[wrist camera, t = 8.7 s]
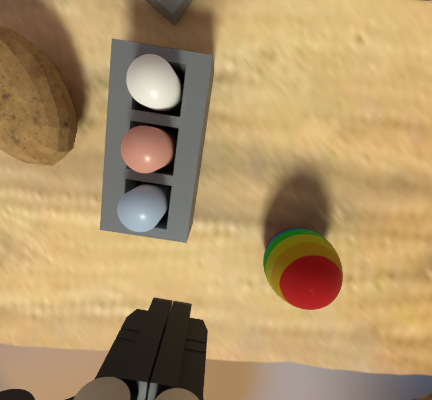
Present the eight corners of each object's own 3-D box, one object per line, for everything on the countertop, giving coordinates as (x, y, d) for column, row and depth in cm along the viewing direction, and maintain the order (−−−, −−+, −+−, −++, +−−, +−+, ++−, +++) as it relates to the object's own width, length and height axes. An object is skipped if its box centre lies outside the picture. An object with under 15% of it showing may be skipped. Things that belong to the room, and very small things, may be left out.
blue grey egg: (138, 177, 30) (118, 186, 24) (174, 183, 30) (162, 193, 24) (135, 211, 31) (115, 228, 25) (170, 217, 31) (158, 235, 25)
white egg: (148, 69, 27) (128, 50, 21) (187, 75, 27) (178, 58, 22) (144, 110, 28) (124, 102, 22) (182, 116, 28) (172, 110, 22)
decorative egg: (288, 207, 33) (316, 236, 23) (337, 245, 34) (383, 288, 24) (246, 256, 35) (256, 302, 25) (294, 291, 36) (322, 349, 26)
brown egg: (142, 125, 28) (122, 122, 23) (180, 131, 29) (169, 129, 23) (139, 163, 29) (118, 169, 23) (175, 169, 29) (164, 176, 24)
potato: (50, 179, 33) (-3, 192, 25) (-28, 72, 30) (-114, 49, 23) (115, 138, 32) (80, 137, 24) (40, 23, 29) (-26, -20, 21)
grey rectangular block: (133, 58, 30) (112, 38, 24) (214, 71, 30) (212, 55, 24) (120, 214, 34) (99, 229, 28) (192, 224, 34) (186, 242, 28)
